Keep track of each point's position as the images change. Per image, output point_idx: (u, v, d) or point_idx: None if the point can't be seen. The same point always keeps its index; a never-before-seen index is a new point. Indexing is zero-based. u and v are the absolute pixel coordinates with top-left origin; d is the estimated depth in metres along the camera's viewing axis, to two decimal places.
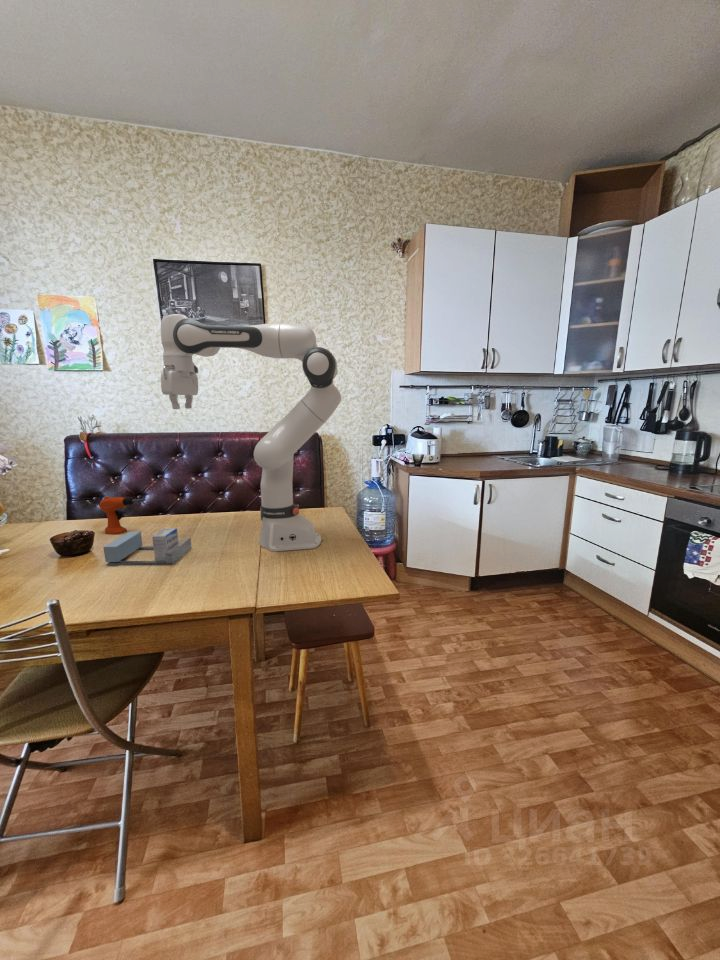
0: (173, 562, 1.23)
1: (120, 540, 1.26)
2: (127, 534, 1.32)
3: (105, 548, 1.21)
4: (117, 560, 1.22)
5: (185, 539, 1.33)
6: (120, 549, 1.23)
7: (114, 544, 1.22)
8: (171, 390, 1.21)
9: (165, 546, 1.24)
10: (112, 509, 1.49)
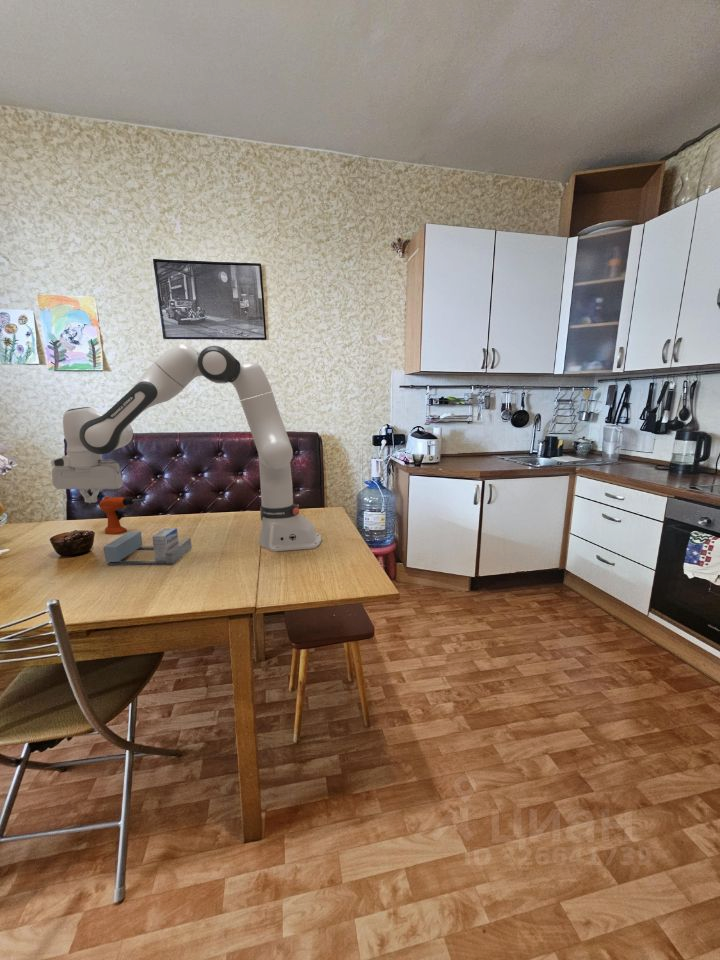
0: (173, 562, 1.23)
1: (120, 540, 1.26)
2: (127, 534, 1.32)
3: (105, 548, 1.21)
4: (117, 560, 1.22)
5: (185, 539, 1.33)
6: (120, 549, 1.23)
7: (114, 544, 1.22)
8: None
9: (165, 546, 1.24)
10: (112, 509, 1.49)
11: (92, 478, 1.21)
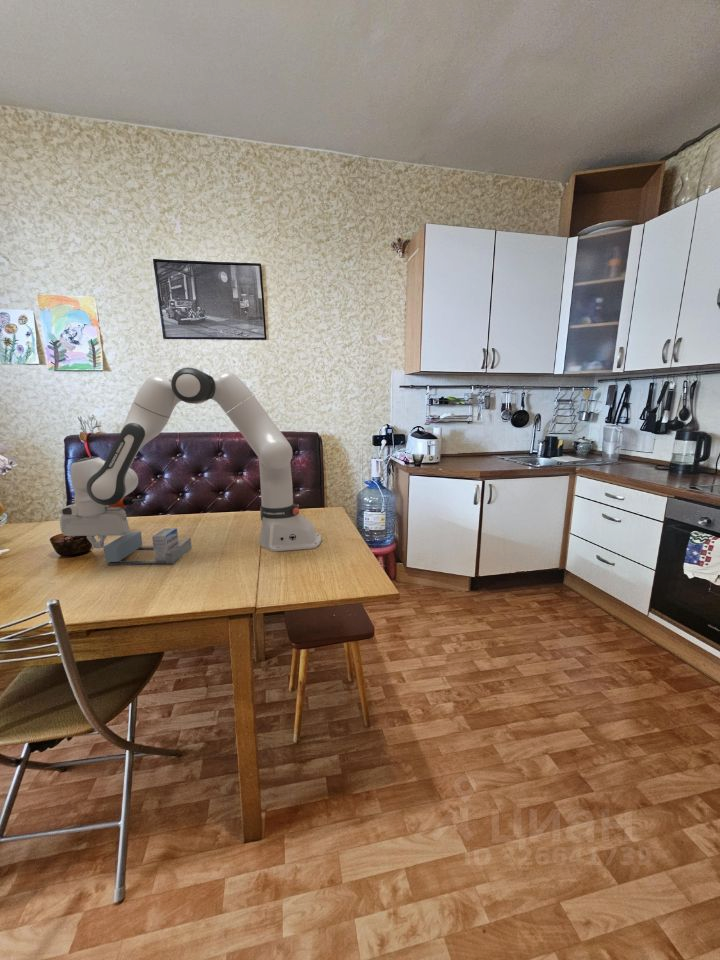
0: (173, 562, 1.23)
1: (120, 540, 1.26)
2: (127, 534, 1.32)
3: (105, 548, 1.21)
4: (117, 560, 1.22)
5: (185, 539, 1.33)
6: (120, 549, 1.23)
7: (114, 544, 1.22)
8: None
9: (165, 546, 1.24)
10: None
11: (99, 525, 1.25)
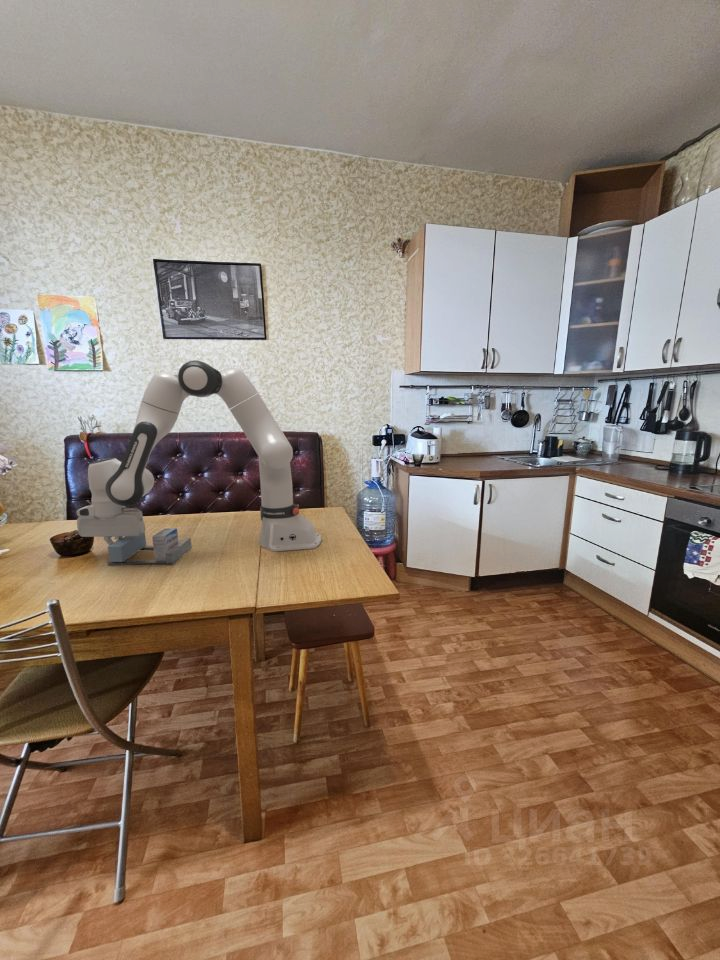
0: (173, 562, 1.23)
1: (125, 540, 1.26)
2: None
3: (109, 548, 1.21)
4: (121, 560, 1.22)
5: (185, 539, 1.33)
6: (124, 549, 1.23)
7: (118, 544, 1.22)
8: None
9: (165, 546, 1.24)
10: None
11: (116, 526, 1.25)
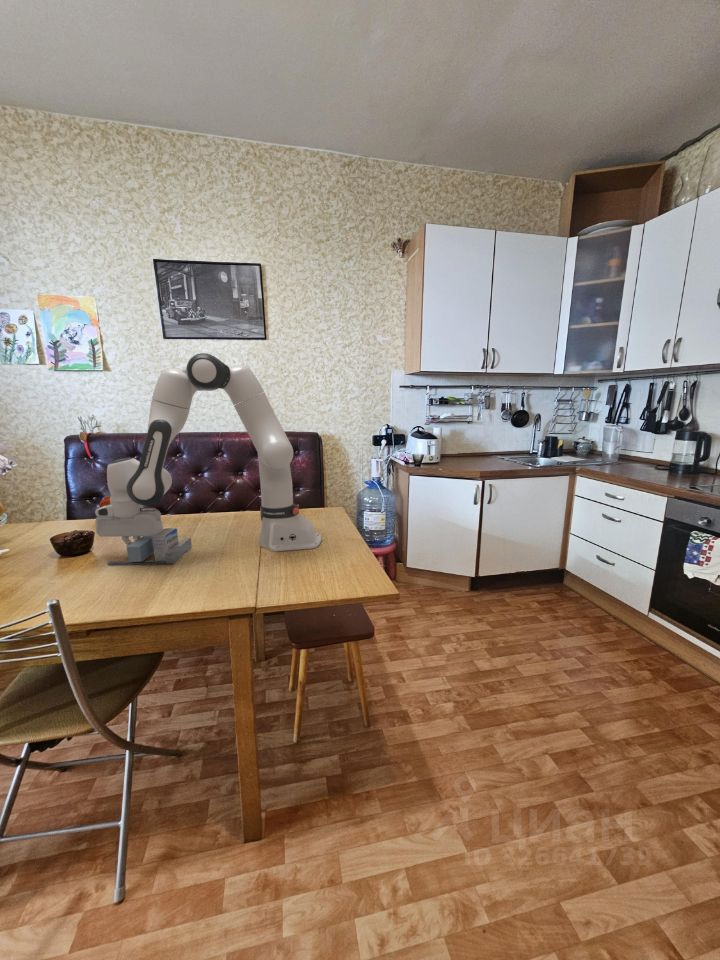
0: (173, 562, 1.23)
1: (143, 540, 1.26)
2: None
3: (128, 548, 1.21)
4: (140, 560, 1.22)
5: (185, 539, 1.33)
6: (143, 549, 1.23)
7: (137, 544, 1.22)
8: None
9: (165, 546, 1.24)
10: None
11: (134, 526, 1.25)
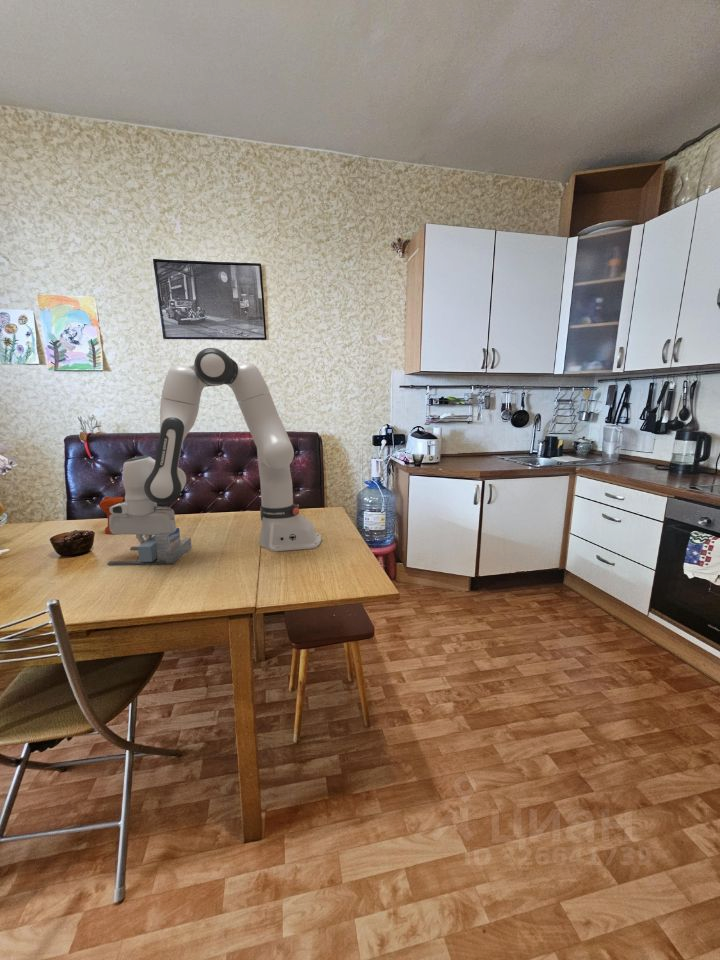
0: (173, 562, 1.23)
1: (153, 540, 1.26)
2: None
3: (139, 548, 1.21)
4: (151, 560, 1.22)
5: (185, 539, 1.33)
6: (153, 549, 1.23)
7: (148, 544, 1.22)
8: None
9: (168, 546, 1.24)
10: None
11: (148, 524, 1.25)
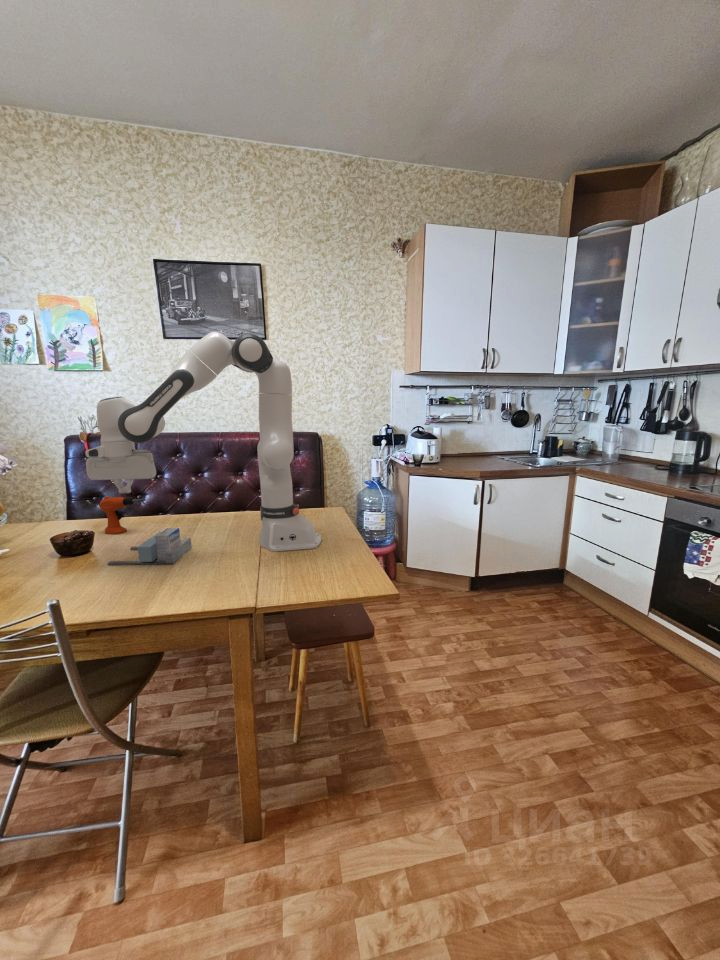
0: (173, 562, 1.23)
1: (153, 540, 1.26)
2: None
3: (139, 548, 1.21)
4: (151, 560, 1.22)
5: (185, 539, 1.33)
6: (153, 549, 1.23)
7: (148, 544, 1.22)
8: None
9: (168, 546, 1.24)
10: (112, 509, 1.49)
11: (126, 468, 1.21)
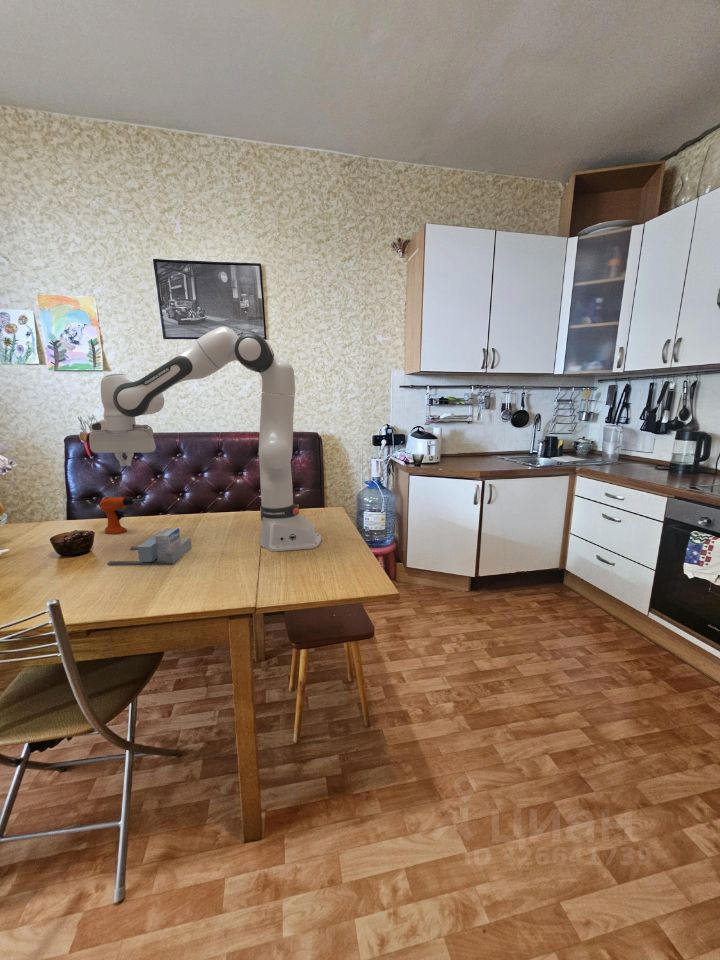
0: (173, 562, 1.23)
1: (153, 540, 1.26)
2: None
3: (139, 548, 1.21)
4: (151, 560, 1.22)
5: (185, 539, 1.33)
6: (153, 549, 1.23)
7: (148, 544, 1.22)
8: (155, 448, 1.32)
9: (168, 546, 1.24)
10: (112, 509, 1.49)
11: (127, 442, 1.28)
